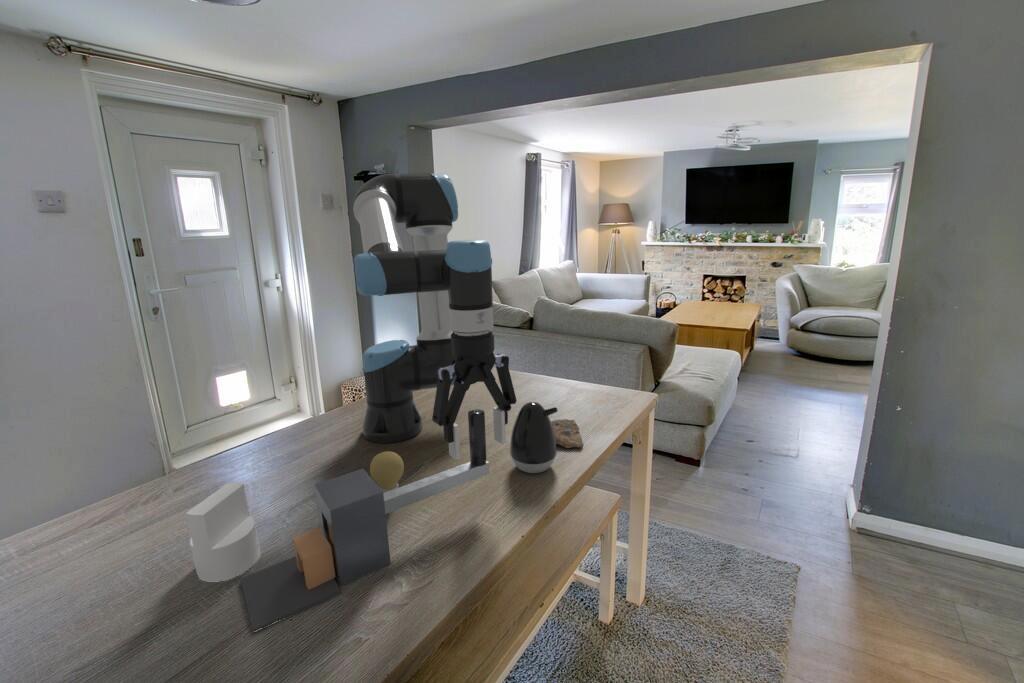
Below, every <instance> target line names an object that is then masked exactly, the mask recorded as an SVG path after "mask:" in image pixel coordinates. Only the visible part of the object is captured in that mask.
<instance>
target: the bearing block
mask: <svg viewBox="0 0 1024 683" xmlns="http://www.w3.org/2000/svg"><path fill="white" fill-rule="evenodd" d="M313 486H314V487H313V488H314V494H315V500H316V501H315V503H316V506H317V508H316V509H317V514H318V522H319V528H320V530H321V531H322V533H323V534H324V536H325V538H326V539H327V541H328V542H329V544H330V546H331V549H332V556H333V563H334V570H335V578H336V580H337V582H338V583H339V585H340V587H342V586H344V585H347V584H349V583H350V582H353V581H355V580H357V579H360V578H362V577H364V576H366V575H368V574H371V573H373V572H375V571H377V570H379V569H382V568H384V567H385V566H389V565H390V564H391V563H392V562H391V555H390V553H391V552H390V544H389V536H388V535H389V533H388V525H387V514H385V504H384V495H383V491H382V490H381V489H380V487H379V486H380V485H379V484H378V483H376V482H375V481H374V480H373V478H372V476H371V475H370V474H368V472H367V471H366V470H365V468H360V469H358V470H354V471H351V472H348V473H346V474H343V475H339V476H336V477H333V478H330V479H326V480H324V481H320V482H317V483H314V484H313ZM327 522H328V526H327Z"/></svg>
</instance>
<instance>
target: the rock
mask: <svg viewBox="0 0 1024 683" xmlns="http://www.w3.org/2000/svg"><path fill="white" fill-rule="evenodd" d="M550 421H551V420H550ZM551 423H552V426H553V430H554V434H555V439H556V445H559V446H562V447H564V448H566V449H571V448H581V447H582V446H583V445H584V442H583V440H582V434H581V433H580V427H579V426H578V423H577V422H576V421H575V419H568V418H567V419H565V418H563V419H555V420H552V421H551Z"/></svg>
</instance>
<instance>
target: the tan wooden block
mask: <svg viewBox="0 0 1024 683" xmlns="http://www.w3.org/2000/svg"><path fill="white" fill-rule="evenodd" d="M292 541H293V548H294V553H295V556H296V560H297V566H298V569H299V571H300V572H302V571H304V575H305V581H306V586H307V588H308V590H309V589H311V588H314V587H316V586H318V585H320V584H322V583H324V582H327V581H329V580H331V579H333V578H334V579H335V578H336V576H335V570H334V563H333V556H332V549H331V546H330V544H329V542H328V541H327V539H326V538H325V536H324V534H323V533H322V531H321V529H320V527H316V528H314V529H312V530H309V531H307V532H304V533H302V534H299V535H297V536H293V537H292Z"/></svg>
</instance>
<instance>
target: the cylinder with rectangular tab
mask: <svg viewBox="0 0 1024 683" xmlns="http://www.w3.org/2000/svg"><path fill="white" fill-rule="evenodd" d="M185 515H186V519H187V525H188V527H189V528H188V529H189V532H190V539H189V545H190V550H191V554H192V558H193V562H194V566H195V571H196V575H198V576H197V578H198V577H199V578H201V579H203V580H206V581H223V580H227V579H231V578H234V577H236V576H238V577H240V576H242V575H243V574H242V573H244V572H245V571H246V570H248V569H249V568H251V567H252V566H253V565H254V564H255V563H256V561H257V560H258V559H260V557H261V548H260V543H259V538H258V533H257V528H256V522H255V520H254V517H252V516H250V512H249V507H248V500H247V494H246V489H245V484H244V483H241V482H227V483H226V484H224V485H223V486H222V487H220V488H219V489H217V490H216V491H215V492H213V493H212V494H210V495H209V496H208V497H206V498H205V499H204V500H202V501H201V502H199V503H198V504H196V505H194V507H192V508H191V509H190V510H189V511H187V512H186V513H185ZM259 556H260V557H259ZM258 561H259V560H258ZM258 561H257V562H258ZM256 564H257V563H256ZM256 564H255V565H256ZM255 565H254V566H255ZM254 566H253V567H254ZM253 567H252V568H253ZM252 568H251V569H252ZM248 571H249V570H248ZM245 573H246V572H245ZM245 573H244V574H245ZM241 574H242V575H241ZM239 575H240V576H239ZM199 578H198V579H199ZM236 578H237V577H236ZM234 579H235V578H234ZM231 580H232V579H231Z"/></svg>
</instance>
